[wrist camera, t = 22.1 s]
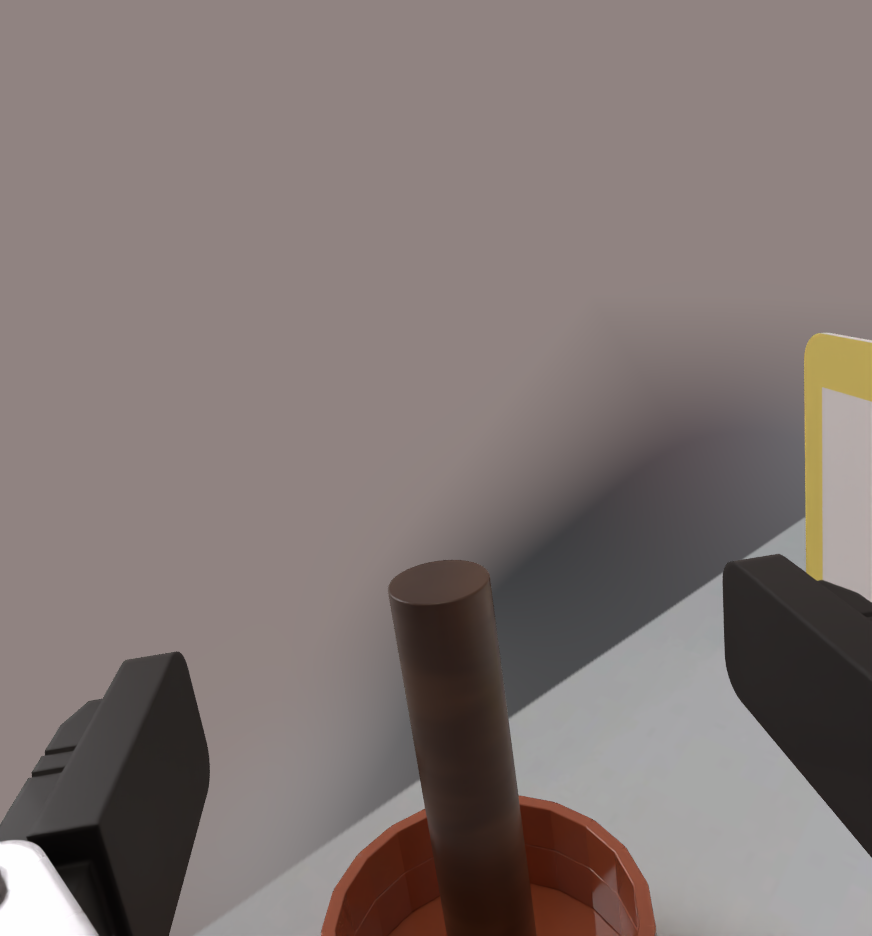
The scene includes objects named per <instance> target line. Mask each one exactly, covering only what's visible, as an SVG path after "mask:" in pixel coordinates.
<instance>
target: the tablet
mask: <svg viewBox="0 0 872 936" xmlns="http://www.w3.org/2000/svg"><path fill="white" fill-rule="evenodd" d="M804 391H805V392H804V396H805V486H806V487H805V490H806V491H805V494H806V573H807V574H809V575H810V576H811V577H813V578H814V579H815V580H817V581H819V580H824V581H827V582H830V583H832V584H835V585H838V586H841V587H843V588H846V589H849V590H852V591H854V592H857V593H859V594H860V595H862V596H863V597H865V598H866V599H867V600H869V601H870V602H872V340H866V339H861V338H855V337H850V336H844V335H839V334H833V333H819V334H816V335H814V336H812V337H811V338H810V340H809V341H808V344H807V346H806V349H805V355H804Z"/></svg>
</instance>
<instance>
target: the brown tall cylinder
mask: <svg viewBox="0 0 872 936" xmlns="http://www.w3.org/2000/svg"><path fill="white" fill-rule="evenodd" d="M388 594H389V599H390V606H391V612H392V618H393V623H394V629H395V635H396V641H397V646H398V653H399V659H400V664H401V670H402V676H403V682H404V687H405V694H406V699H407V705H408V711H409V717H410V723H411V729H412V734H413V740H414V746H415V751H416V757H417V764H418V769H419V775H420V781H421V787H422V793H423V799H424V804H425V810H426V816H427V822H428V828H429V834H430V839H431V845H432V851H433V857H434V863H435V869H436V874H437V880H438V886H439V892H440V898H441V904H442V909H443V915H444V921H445V927H446V933H447V936H537V934H536V926H535V919H534V911H533V904H532V896H531V888H530V881H529V873H528V865H527V858H526V850H525V842H524V835H523V827H522V819H521V812H520V804H519V797H518V789H517V781H516V774H515V766H514V758H513V751H512V743H511V735H510V728H509V720H508V712H507V706H506V698H505V690H504V682H503V675H502V667H501V659H500V651H499V644H498V637H497V628H496V621H495V614H494V605H493V598H492V590H491V583H490V576H489V573H488V571H487V570H486V569H485V568H484V567H483V566H481V565H479V564H477V563H474V562H469V561H462V560H443V561H435V562H429V563H425V564H421V565H418V566H415V567H412V568H410V569H407V570H406V571H404V572H402V573H400V574H399V575H397V576H396V577H395V578H394V579H393V580H392V581H391V582H390V584H389V587H388Z"/></svg>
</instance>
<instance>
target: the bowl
mask: <svg viewBox="0 0 872 936" xmlns="http://www.w3.org/2000/svg"><path fill="white" fill-rule="evenodd" d="M518 797H519V804H520V812H521V819H522V827H523V835H524V842H525V850H526V858H527V865H528V873H529V881H530V888H531V896H532V904H533V911H534V919H535V926H536V934H537V936H657V935H656V925H655V919H654V914H653V908H652V902H651V897H650V891H649V885H648V884H647V881H646V880H645V878H644V876H643V875H642V873H641V871H640V870H639V868H638V866H637V865H636V863H635V861H634V860H633V858H632V857H631V855H630V853H629V852H628V850H627V848H625V846H624V845H623V844H622V843H620V842H619V841H618V840H617V839H616V838H615V837H613V836H612V835H611V834H610V833H609V832H608V831H606V830H605V829H604V828H603V827H602V826H601V825H599V824H598V823H597V822H596V821H594V820H593V819H591V818H589V817H587V816H584V815H582V814H580V813H578V812H576V811H574V810H571V809H569V808H567V807H565V806H563V805H560V804H558V803H555V802H552V801H546V800H541V799H535V798H530V797H525V796H519V795H518ZM321 936H447V933H446V927H445V921H444V915H443V909H442V904H441V898H440V892H439V886H438V880H437V874H436V869H435V863H434V857H433V851H432V845H431V839H430V834H429V828H428V822H427V816H426V810H425V809H423V810H421V811H419V812H418V813H416V814H414V815H412V816H410V817H408V818H406V819H404V820H402V821H400V822H398V823H396V824H394V825H392V826H391V827H389V828H388V829H387V830H386V831H384V832H383V833H382V834H381V835H380V836H379V837H377V838H376V839H375V840H374V841H373V842H372V843H370V844H369V845H368V846H367V847H366V848H365V849H363V850H362V851H361V852H360V853H359V854H358V855H357V856H356V857H355V859H354V860H353V862H352V863H351V865H350V866H349V868H348V869H347V871H346V872H345V874H344V875H343V877H342V878H341V879H340V881H339V882H338V884H337V885H336V887H335V888H334V891H333V893H332V896H331V900H330V903H329V906H328V910H327V913H326V917H325V920H324V923H323V927H322V930H321Z"/></svg>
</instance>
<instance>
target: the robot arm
mask: <svg viewBox="0 0 872 936" xmlns="http://www.w3.org/2000/svg"><path fill="white" fill-rule="evenodd" d="M723 608H724V642H725V661H726V667H727V672H728V675H729V679H730V682H731V684H732V687H733V689H734V691H735V693H736V695H737V696H738V698H739V699H740V700H741V702H742V703H743V704H744V705H745V707H746V708H747V709H748V710H749V711H750V712H751V714H752V715H753V716H754V717H755V718H756V720H757V721H758V722H759V723H760V724H761V726H762V727H763V728H764V729H765V730H766V732H767V733H768V734H769V735H770V736H771V738H772V739H773V740H774V741H775V742H776V744H777V745H778V746H779V747H780V748H781V750H782V751H783V752H784V753H785V754H786V756H787V757H788V758H789V759H790V760H791V762H792V763H793V764H794V765H795V766H796V768H797V769H798V770H799V771H800V772H801V774H802V775H803V776H804V777H805V778H806V780H807V781H808V782H809V783H810V784H811V786H812V787H813V788H814V789H815V790H816V791H817V793H818V794H819V795H820V796H821V797H822V799H823V800H824V801H825V802H826V803H827V805H828V806H829V807H830V808H831V809H832V811H833V812H834V813H835V814H836V815H837V817H838V818H839V819H840V820H841V821H842V823H843V824H844V825H845V826H846V827H847V829H848V830H849V831H850V832H851V833H852V835H853V836H854V837H855V838H856V839H857V841H858V842H859V843H860V844H861V845H862V847H863V848H864V849H865V850H866V851H867V853H868V854H869V855H870V856H871V857H872V602H870V601H869V600H867V599H866V598H865V597H863V596H862V595H860V594H859V593H857V592H854V591H852V590H849V589H846V588H843V587H841V586H838V585H835V584H832V583H830V582H827V581H824V580H819V581H817V580H815V579H814V578H813V577H811V576H810V575H809V574H807V573H806V572H805V571H803V570H802V569H800V568H799V567H798V566H796V565H795V564H794V563H792V562H791V561H790V560H788V559H787V558H786V557H784V556H782V555H780V554H775V555H769V556H763V557H756V558H750V559H744V560H738V561H732V562H729V563H727V564H726V566H725V568H724V572H723ZM209 765H210V764H209V753H208V747H207V742H206V738H205V734H204V730H203V726H202V722H201V718H200V714H199V711H198V706H197V702H196V698H195V695H194V691H193V686H192V683H191V679H190V675H189V670H188V667H187V664H186V661H185V659H184V657H183V655H182V654H181V653H180V652H172V653H165V654H159V655H153V656H147V657H141V658H135V659H129V660H125V661H124V662H123V663H122V665H121V667H120V668H119V670H118V672H117V674H116V676H115V678H114V679H113V681H112V683H111V685H110V686H109V688H108V690H107V692H106V694H105V695H104V697H103V699H99V700H93V701H88V702H87V703H86V704H85V705H84V706H83V707H81V708H80V709H79V710H78V711H77V712H76V713H75V714H73V715H72V716H71V717H70V718H69V719H67V720H66V721H65V722H64V723H63V724H62V725H61V726H60V727H59V729H58V730H57V732H56V734H55V735H54V737H53V739H52V740H51V742H50V744H49V745H48V747H47V748H46V750H45V756H42V757H41V758H40V760H39V762H38V763H37V765H36V767H35V768H34V770H33V771H32V778H28V779H27V781H26V783H25V784H24V786H23V788H22V789H21V791H20V793H19V794H18V796H17V797H16V799H15V801H14V802H13V804H12V806H11V807H10V809H9V811H8V812H7V814H6V816H5V817H4V819H3V820H2V822H1V824H0V936H169V933H170V929H171V925H172V921H173V918H174V914H175V910H176V907H177V903H178V900H179V896H180V892H181V888H182V885H183V881H184V877H185V874H186V870H187V866H188V862H189V859H190V855H191V851H192V848H193V844H194V840H195V837H196V833H197V829H198V826H199V822H200V818H201V814H202V811H203V807H204V803H205V799H206V795H207V792H208V787H209V778H210V777H209V776H210V766H209Z"/></svg>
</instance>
